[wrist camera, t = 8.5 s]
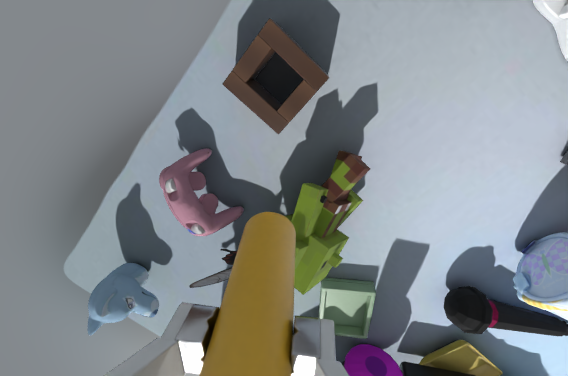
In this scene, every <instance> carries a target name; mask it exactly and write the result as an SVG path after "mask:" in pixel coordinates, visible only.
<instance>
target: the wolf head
mask: <svg viewBox="0 0 568 376" xmlns="http://www.w3.org/2000/svg"><path fill="white" fill-rule="evenodd" d="M147 279H148V272H147V270H146V269H145V268H144V267H142V266H140V265H138V264H135V263H126V264H123V265H121V266H120V267H118V268H117V269H115V270H114V271H112V272H111V273H110V274H109V275H108V276H107V277H106V278H104V279H103V280H102V281H101V282H100V283H99V284H98V285H97V286H96V287H95V289H94V290H93V292H92V293H91V296H90V299H89V303H88V309H89V319H88V334H89V335H92V334H94V333H95V332H96V331H97V329H98V328H99V327H100V326H101V325H103V324H104V323H113V322H118V321H121V320H123V319H125V318H126V317H127V316H128V315H129V314H130V313H131V312H135V313H138V314H140V315H142V316H147V317H154V316H155V315H156V313H157V311H158V307H159V302H158V299H157V298H156V296H154V295H153V294H152V293H150V292H148V291H147V290H145V289H144V288H142V286H143V285H144V284H145V282H146V281H147Z"/></svg>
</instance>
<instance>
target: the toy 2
mask: <svg viewBox="0 0 568 376" xmlns="http://www.w3.org/2000/svg"><path fill="white" fill-rule="evenodd" d="M560 162H562V163H564V164H567V165H568V150H567V152H566V153H565V155H564V157H563V158H562V160H561V161H560Z"/></svg>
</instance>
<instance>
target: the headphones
mask: <svg viewBox="0 0 568 376" xmlns="http://www.w3.org/2000/svg"><path fill="white" fill-rule="evenodd" d="M342 365H343V367H344V368H345V370H346V371H347V373H348V375H349V376H403V375H402V372H401V370H400V368H399V366H398V364H397V363H396V362H395V361H394V360H393V358H392V357H391V356H390V355H389V354H387V353H386V352H385V351H383V350H382V349H380V348H378V347H375V346H372V345H370V344H360V345H357V346H355V347H353V348H351V349H350V351H349V352H348V353H347V355H346V356H345V360H344V361H343V363H342Z"/></svg>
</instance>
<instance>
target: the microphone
mask: <svg viewBox="0 0 568 376" xmlns="http://www.w3.org/2000/svg"><path fill="white" fill-rule="evenodd" d="M444 309H445V313H446V316H447V318H448V319H449V320H450V321H451V322H452V323H453V324H454V325H456V326H457V327H459V328H460V329H461V330H462V331H463V332H464V333H473V334H482V333H483V332H484V331H485V330H486V329H487V328H496V329H504V330H512V331H520V332H528V333H536V334H544V335H552V336H563V335H565V336H568V324H566V322H565V321H561V320H559V319H558V318H555V317H551V316H548V315H544V314H540V313H537V312H533V311H529V310H526V309H522V308H519V307H515V306H511V305H508V304H504V303H500V302H497V301H493V300H489V299H487V297H486V295H485V294H483V293H482V292H480V291H479V290H478V289H476V288H475V287H471V286H466V287H459V288H458V289H455V290H451V291H450V292H449V293H448V294H447V296H446V297H445V301H444Z"/></svg>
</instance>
